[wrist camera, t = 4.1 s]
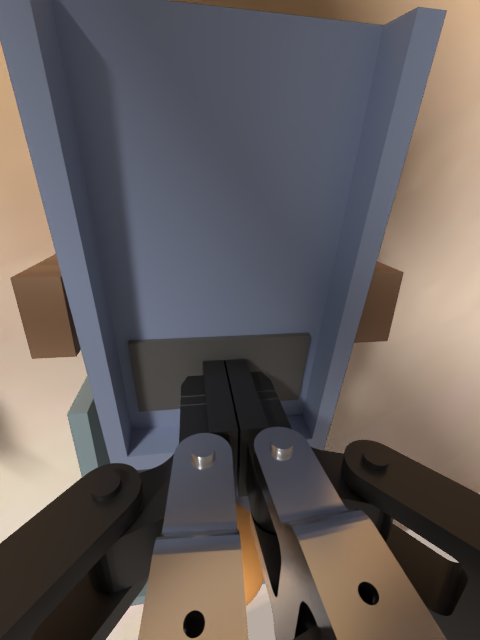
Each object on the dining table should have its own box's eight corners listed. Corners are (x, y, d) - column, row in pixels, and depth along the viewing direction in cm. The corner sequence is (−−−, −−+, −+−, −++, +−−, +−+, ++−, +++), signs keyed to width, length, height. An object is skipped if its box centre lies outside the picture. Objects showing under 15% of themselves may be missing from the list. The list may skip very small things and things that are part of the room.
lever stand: (55, 194, 14) (-77, 202, 7) (340, 200, 17) (460, 212, 9) (78, 314, 17) (-5, 412, 10) (325, 306, 19) (411, 382, 12)
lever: (35, 1, 7) (-24, -50, 5) (384, 39, 8) (446, 10, 6) (140, 505, 16) (134, 554, 14) (288, 487, 17) (301, 530, 16)
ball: (173, 604, 11) (179, 636, 13) (283, 585, 12) (271, 619, 14) (175, 489, 14) (180, 531, 16) (261, 480, 15) (255, 520, 17)
